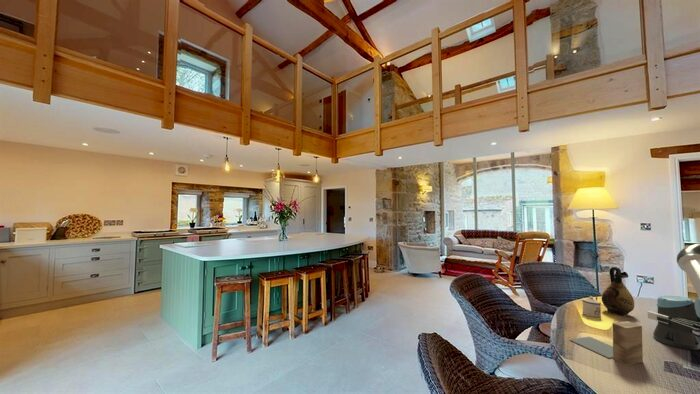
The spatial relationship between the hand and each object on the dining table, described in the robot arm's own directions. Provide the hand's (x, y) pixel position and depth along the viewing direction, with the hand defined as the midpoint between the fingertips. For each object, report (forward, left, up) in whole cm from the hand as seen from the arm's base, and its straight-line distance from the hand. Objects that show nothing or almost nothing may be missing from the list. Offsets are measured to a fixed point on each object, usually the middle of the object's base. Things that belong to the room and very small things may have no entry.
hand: (648, 314), depth 113 cm
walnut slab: (+4, -7, -24) cm, 25 cm away
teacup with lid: (-8, -68, -24) cm, 72 cm away
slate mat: (+11, -16, -24) cm, 30 cm away
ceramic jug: (-25, -78, -24) cm, 85 cm away
